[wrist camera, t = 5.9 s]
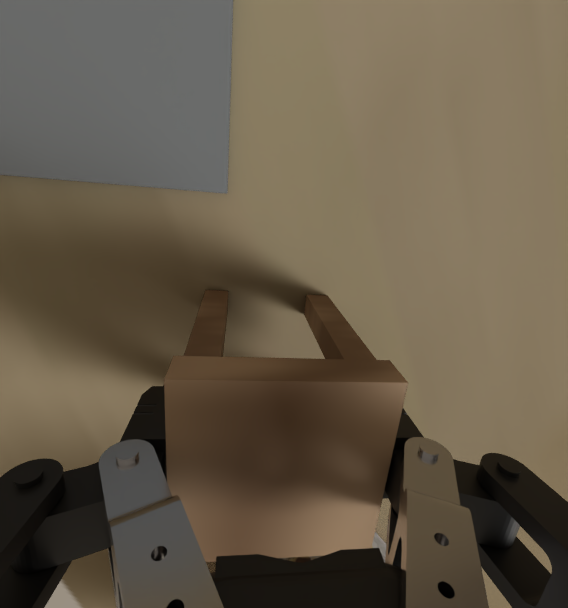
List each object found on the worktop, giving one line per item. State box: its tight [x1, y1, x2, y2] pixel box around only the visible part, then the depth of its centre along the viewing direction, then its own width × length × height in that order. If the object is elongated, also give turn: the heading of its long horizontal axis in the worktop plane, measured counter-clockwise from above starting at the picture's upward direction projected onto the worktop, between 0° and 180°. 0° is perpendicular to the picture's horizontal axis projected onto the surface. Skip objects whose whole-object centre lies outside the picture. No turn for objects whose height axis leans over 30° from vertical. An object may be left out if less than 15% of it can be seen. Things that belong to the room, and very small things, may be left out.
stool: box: [164, 290, 408, 562], centre depth 13 cm, size 6×6×8 cm
